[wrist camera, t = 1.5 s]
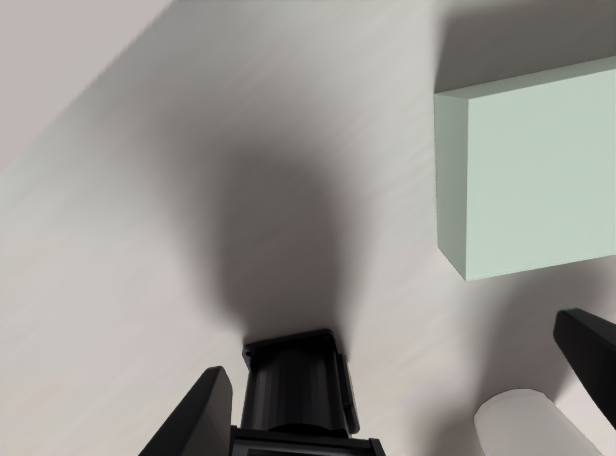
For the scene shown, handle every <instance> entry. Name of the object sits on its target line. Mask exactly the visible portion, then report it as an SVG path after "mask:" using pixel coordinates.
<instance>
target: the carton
mask: <svg viewBox="0 0 616 456" xmlns="http://www.w3.org/2000/svg"><path fill="white" fill-rule="evenodd" d="M434 129H435V163H436V198H437V232H438V248H439V249H440V251H441V252H442V253H443V254H444V255H445V257H446V258H447V259H448V260H449V262H450V263H451V264H452V265H453V267H454V268H455V269H456V270H457V271H458V273H459V274H460V275H461V276H462V278H463V279H464V280H465V281H472V280H477V279H483V278H488V277H494V276H499V275H505V274H510V273H516V272H521V271H527V270H533V269H538V268H544V267H549V266H555V265H560V264H566V263H571V262H577V261H583V260H588V259H594V258H599V257H605V256H610V255H616V56H611V57H606V58H602V59H597V60H592V61H587V62H583V63H578V64H573V65H568V66H564V67H559V68H554V69H549V70H545V71H540V72H535V73H530V74H525V75H521V76H516V77H511V78H506V79H502V80H497V81H492V82H487V83H483V84H478V85H473V86H468V87H464V88H459V89H454V90H449V91H444V92H440V93H435V94H434Z"/></svg>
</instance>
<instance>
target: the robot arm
mask: <svg viewBox="0 0 616 456" xmlns="http://www.w3.org/2000/svg"><path fill="white" fill-rule="evenodd" d="M324 336H329V337H324ZM553 336H554V340H555V342H556V343H557V345H558V347H559V348H560V350H561V351H562V353H563V355H564V356H565V358H566V359H567V361H568V362H569V364H570V366H571V367H572V369H573V370H574V372H575V374H576V375H577V377H578V378H579V380H580V381H581V383H582V385H583V386H584V388H585V389H586V391H587V392H588V394H589V395H590V397H591V398H592V400H593V401H594V402H595V404H596V405H597V406H598V408H599V409H600V410H601V412H602V413H603V414H604V416H605V417H606V418H607V420H608V421H609V422H610V423H611V425H612V426H613V427H614V429H615V430H616V324H614V323H611V322H609V321H607V320H605V319H602V318H600V317H598V316H595V315H593V314H591V313H588V312H586V311H584V310H582V309H579V308H567V309H561V310H559V311H558V312H557V314H556V319H555V324H554V329H553ZM248 351H251V352H248ZM242 356H243V358H244V360H245V363H246V365H247V367H248V370H249V375H248V382H247V388H246V394H245V401H244V407H243V413H242V419H241V426H240V428H237V426H235V425H231V411H232V395H233V391H232V385H231V383H230V380H229V378H228V376H227V374H226V372H225V369H224V368H223V367H222V366H216V367H210V368H207V369H206V370H205V371H204V373H203V374H202V375H201V376H200V378H199V379H198V380H197V382H196V383H195V384H194V385H193V387H192V388H191V389H190V390H189V392H188V393H187V394H186V395H185V397H184V398H183V399H182V401H181V402H180V403H179V404H178V406H177V407H176V408H175V409H174V411H173V412H172V413H171V414H170V416H169V417H168V418H167V420H166V421H165V422H164V423H163V425H162V426H161V427H160V428H159V430H158V431H157V432H156V433H155V435H154V436H153V437H152V439H151V440H150V441H149V442H148V444H147V445H146V446H145V447H144V449H143V450H142V451H141V453H140V454H139V455H138V456H386V455H385V453H384V450H383V448H382V445H381V443H380V441H379V439H374V438H369V439H368V440H365V439H355V438H352V435H351V434H356V433H358V432H359V430H360V426H359V420H358V415H357V409H356V403H355V398H354V392H353V387H352V381H351V376H350V372H349V368H348V364H347V360H346V356H345V355H344V354H343V353H338V349H337V345H336V341H335V337H334V334H333V331H332V330H330V329H322V330H317V331H312V332H307V333H302V334H297V335H292V336H287V337H282V338H277V339H272V340H267V341H262V342H257V343H252V344H248V345H245V346H244V347H243V351H242Z"/></svg>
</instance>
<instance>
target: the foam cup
mask: <svg viewBox="0 0 616 456" xmlns="http://www.w3.org/2000/svg"><path fill="white" fill-rule="evenodd" d="M474 426H475V429H476V431H477V436H478V438H479V441H480V444H481V447H482V450H483V452H484V455H485V456H604V455H603V454H602V453H601V452H600V451H599V450H598V449H597V448H596V447H595V446H594V445H593V444H592V443H591V442H590V440H589V439H588V438H587V437H586V436H585V435H584V434H583V433H582V432H581V431H580V430H579V429H578V428H577V427H576V426H575V425H574V424H573V423H572V422H571V421H570V420H569V419H568V418H567V417H566V416H565V415H564V414H563V413H562V412H561V411H560V410H559V409H558V408H557V406H556V405H555V404H554V403H553V402H552V401H551V400H549V399H547V397H546V396H545V395H544V393H541V392H538V391H535V390H532V389H512V390H509V391H506V392H503V393H500V394H497V395H495V396H493V397H492V398H490V399H489V400H488V401H486V402H485V403H483V404H482V405H481V406H480V408H479V409H478V411H477V412H476V414H475V416H474Z"/></svg>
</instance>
